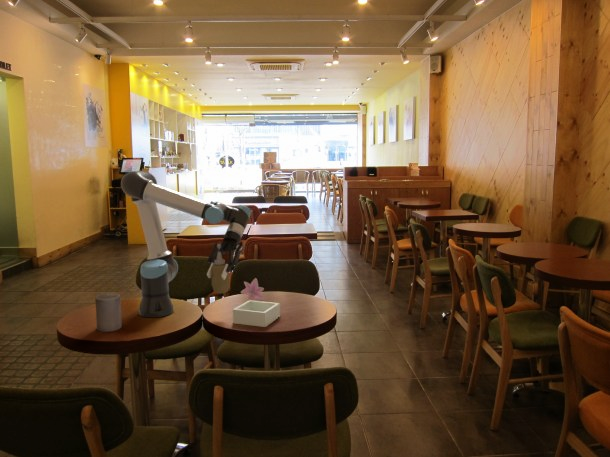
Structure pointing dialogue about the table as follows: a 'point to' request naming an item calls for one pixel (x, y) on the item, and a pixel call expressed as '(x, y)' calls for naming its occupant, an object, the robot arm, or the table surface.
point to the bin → (256, 313)
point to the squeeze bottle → (219, 276)
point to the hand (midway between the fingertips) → (215, 277)
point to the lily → (253, 290)
